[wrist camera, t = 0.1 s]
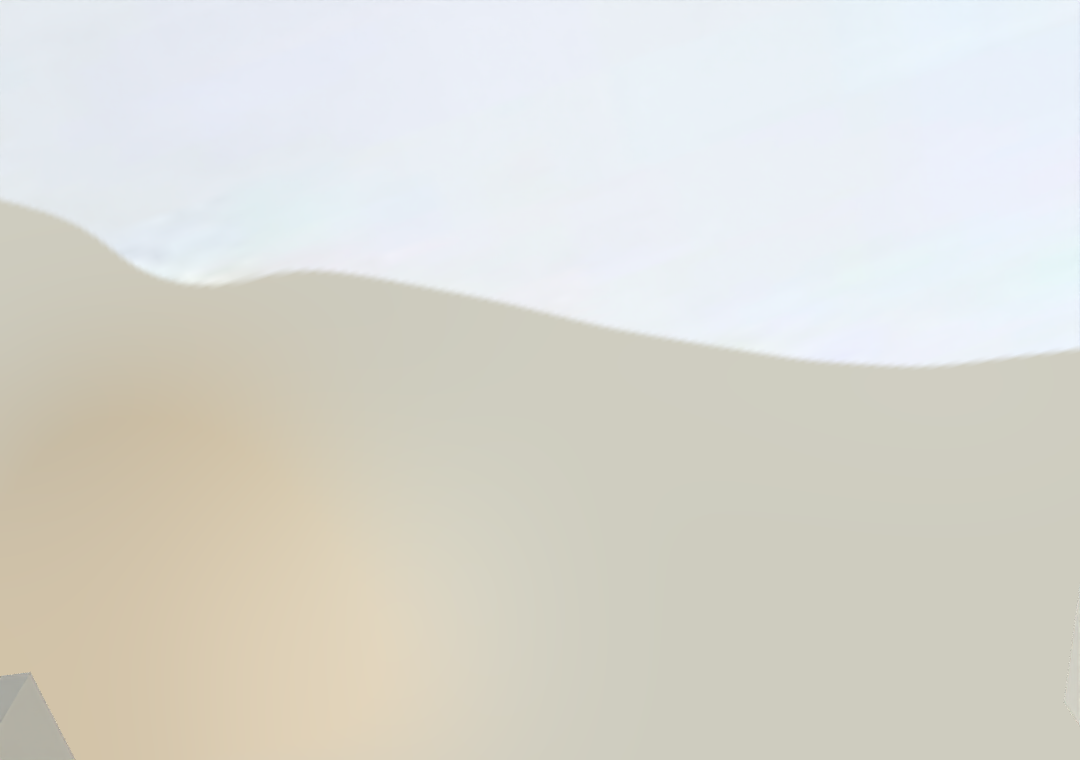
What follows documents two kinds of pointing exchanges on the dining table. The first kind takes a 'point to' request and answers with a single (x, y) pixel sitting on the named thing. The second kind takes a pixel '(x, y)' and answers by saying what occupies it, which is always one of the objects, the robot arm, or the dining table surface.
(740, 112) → the dining table surface
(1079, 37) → the dining table surface
